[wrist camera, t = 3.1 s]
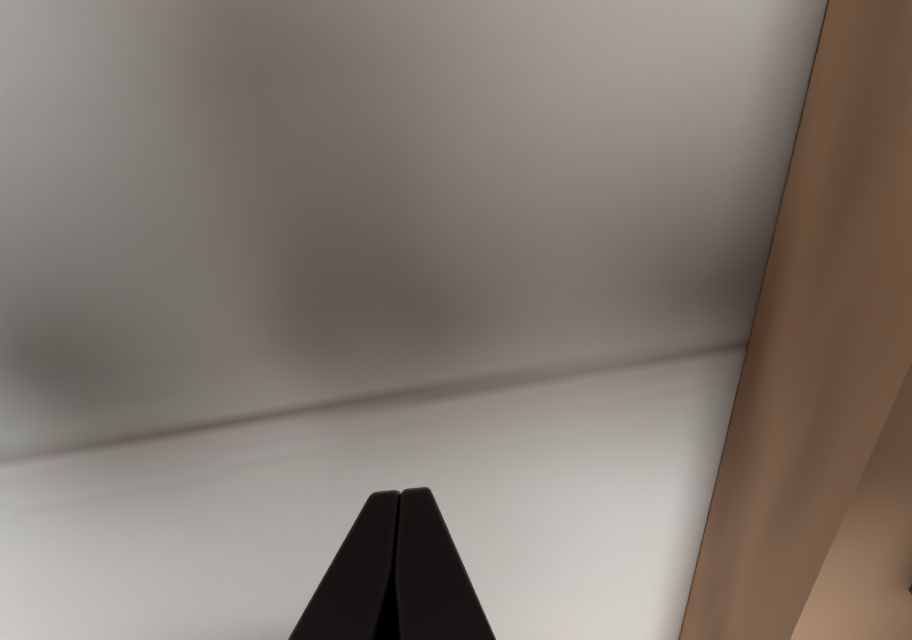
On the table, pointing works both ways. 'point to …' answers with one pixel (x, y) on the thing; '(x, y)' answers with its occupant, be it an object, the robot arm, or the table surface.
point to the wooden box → (827, 370)
